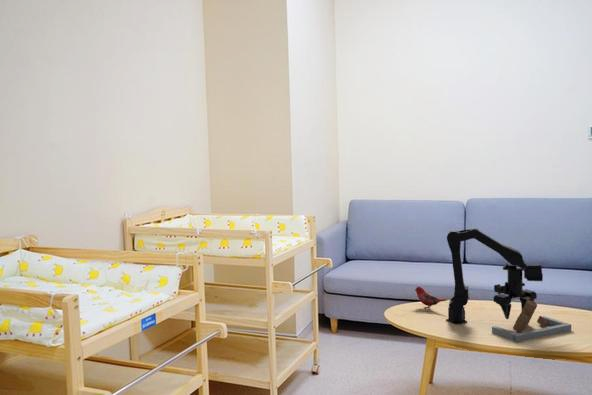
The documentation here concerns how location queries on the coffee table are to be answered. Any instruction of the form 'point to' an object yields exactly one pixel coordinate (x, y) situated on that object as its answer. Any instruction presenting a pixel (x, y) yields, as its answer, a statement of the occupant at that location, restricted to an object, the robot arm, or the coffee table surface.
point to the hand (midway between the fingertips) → (515, 317)
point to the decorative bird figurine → (427, 297)
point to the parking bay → (534, 331)
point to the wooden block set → (527, 316)
